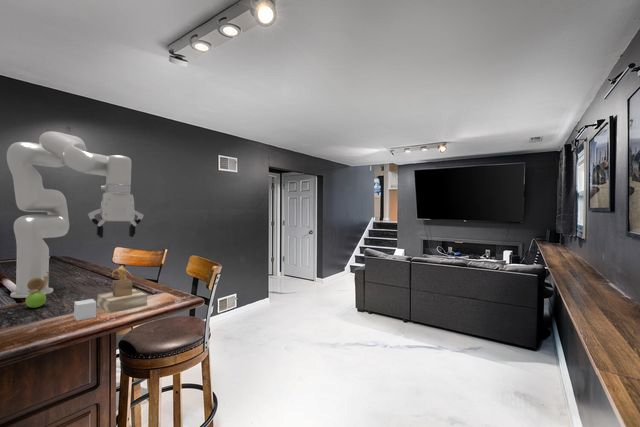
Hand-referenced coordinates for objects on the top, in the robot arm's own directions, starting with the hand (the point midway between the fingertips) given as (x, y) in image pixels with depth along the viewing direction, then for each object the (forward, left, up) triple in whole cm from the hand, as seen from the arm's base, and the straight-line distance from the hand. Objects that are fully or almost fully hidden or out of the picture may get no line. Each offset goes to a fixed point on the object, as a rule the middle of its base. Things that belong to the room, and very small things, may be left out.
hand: (116, 236), depth 114 cm
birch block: (+2, +2, -26) cm, 26 cm away
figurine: (-14, +6, -25) cm, 30 cm away
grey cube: (+8, -10, -25) cm, 28 cm away
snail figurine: (-14, -20, -25) cm, 35 cm away
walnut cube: (+2, +2, -21) cm, 21 cm away
